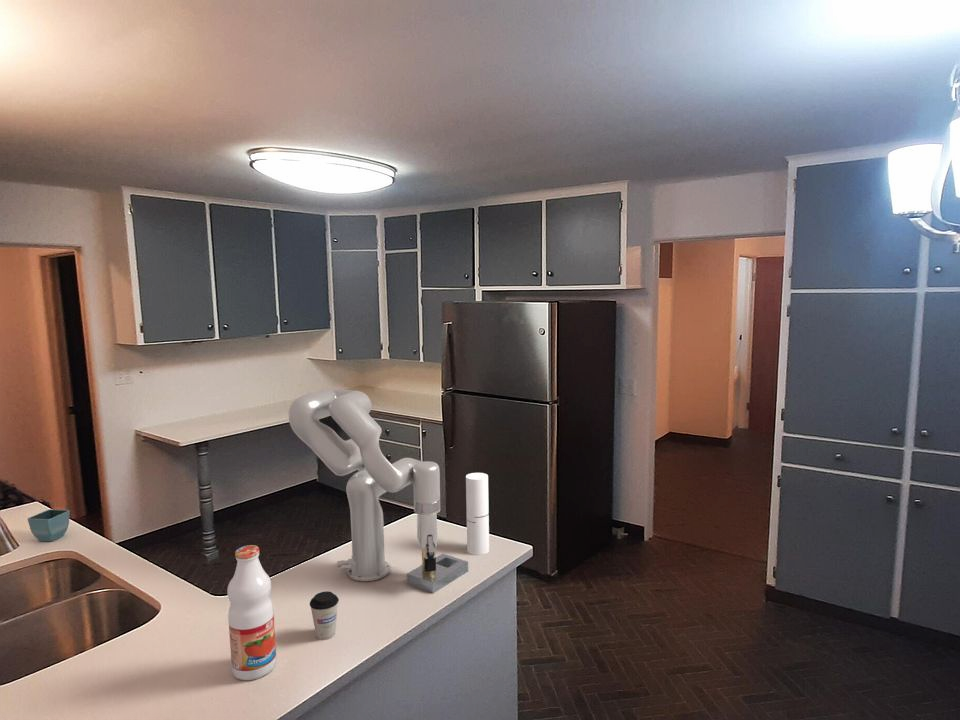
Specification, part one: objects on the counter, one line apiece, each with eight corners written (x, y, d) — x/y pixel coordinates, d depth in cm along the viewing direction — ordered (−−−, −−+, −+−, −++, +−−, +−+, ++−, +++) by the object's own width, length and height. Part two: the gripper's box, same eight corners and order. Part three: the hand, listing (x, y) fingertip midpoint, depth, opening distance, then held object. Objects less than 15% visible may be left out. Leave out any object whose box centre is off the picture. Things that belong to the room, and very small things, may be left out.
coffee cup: (309, 630, 147) (307, 592, 146) (337, 624, 150) (335, 586, 149) (313, 645, 141) (311, 606, 139) (342, 638, 143) (340, 599, 142)
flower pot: (28, 543, 202) (26, 518, 201) (51, 533, 211) (49, 509, 210) (51, 544, 201) (48, 519, 200) (72, 534, 210) (70, 510, 208)
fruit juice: (253, 651, 139) (246, 538, 135) (285, 660, 135) (278, 543, 132) (222, 676, 130) (214, 555, 127) (256, 685, 126) (248, 561, 123)
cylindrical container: (489, 555, 188) (488, 479, 185) (466, 555, 188) (465, 479, 185) (489, 545, 195) (488, 472, 192) (467, 545, 195) (466, 472, 192)
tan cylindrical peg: (423, 576, 168) (422, 549, 167) (421, 570, 172) (421, 544, 171) (436, 575, 169) (435, 548, 168) (434, 569, 172) (434, 543, 171)
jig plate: (433, 593, 164) (433, 583, 164) (407, 583, 170) (406, 573, 170) (468, 571, 177) (468, 561, 177) (442, 562, 183) (442, 553, 183)
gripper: (411, 496, 175) (413, 553, 177) (416, 517, 159) (418, 580, 161) (436, 494, 177) (437, 550, 179) (444, 515, 160) (445, 577, 162)
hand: (428, 564), depth 170 cm, fingers open, 6 cm apart
